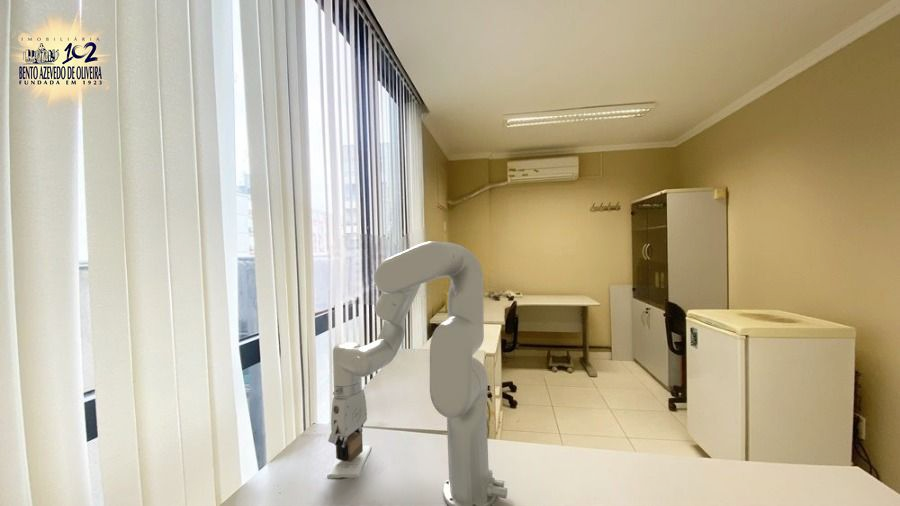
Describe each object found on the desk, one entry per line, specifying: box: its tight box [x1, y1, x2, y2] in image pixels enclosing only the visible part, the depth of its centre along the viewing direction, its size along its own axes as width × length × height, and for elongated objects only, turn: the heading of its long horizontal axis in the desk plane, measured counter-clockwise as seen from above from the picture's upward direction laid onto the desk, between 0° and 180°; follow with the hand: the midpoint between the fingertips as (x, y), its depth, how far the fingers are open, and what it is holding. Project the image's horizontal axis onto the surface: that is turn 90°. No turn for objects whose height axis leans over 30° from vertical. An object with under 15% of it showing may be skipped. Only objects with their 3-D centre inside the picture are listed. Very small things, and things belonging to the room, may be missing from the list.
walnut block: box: [335, 432, 364, 462], centre depth 88 cm, size 5×5×5 cm
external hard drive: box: [326, 445, 372, 479], centre depth 88 cm, size 2×8×12 cm
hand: (349, 453), depth 88 cm, fingers closed on walnut block, 5 cm apart
